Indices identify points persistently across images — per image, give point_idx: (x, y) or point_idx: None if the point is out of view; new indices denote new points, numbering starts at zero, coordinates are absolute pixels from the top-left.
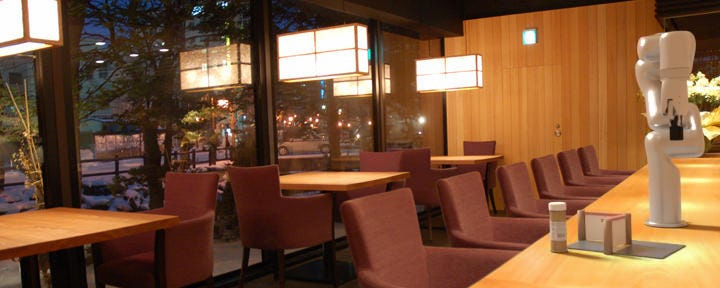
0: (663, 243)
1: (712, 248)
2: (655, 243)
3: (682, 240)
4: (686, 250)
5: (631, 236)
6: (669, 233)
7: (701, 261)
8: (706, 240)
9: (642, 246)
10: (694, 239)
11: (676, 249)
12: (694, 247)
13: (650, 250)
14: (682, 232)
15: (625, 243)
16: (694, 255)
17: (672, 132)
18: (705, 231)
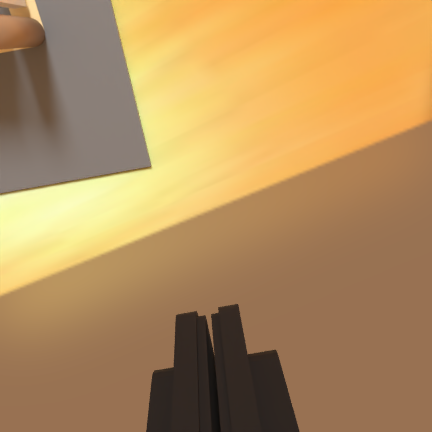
0: (127, 111)
1: (170, 223)
2: (110, 93)
3: (229, 119)
4: (98, 192)
5: (25, 47)
6: (328, 27)
7: (8, 268)
8: (270, 167)
9: (36, 89)
10: (266, 137)
11: (74, 178)
12: (151, 189)
13: (5, 136)
14: (369, 52)
15: None
16: (56, 231)
17: (149, 420)
18: (423, 100)
